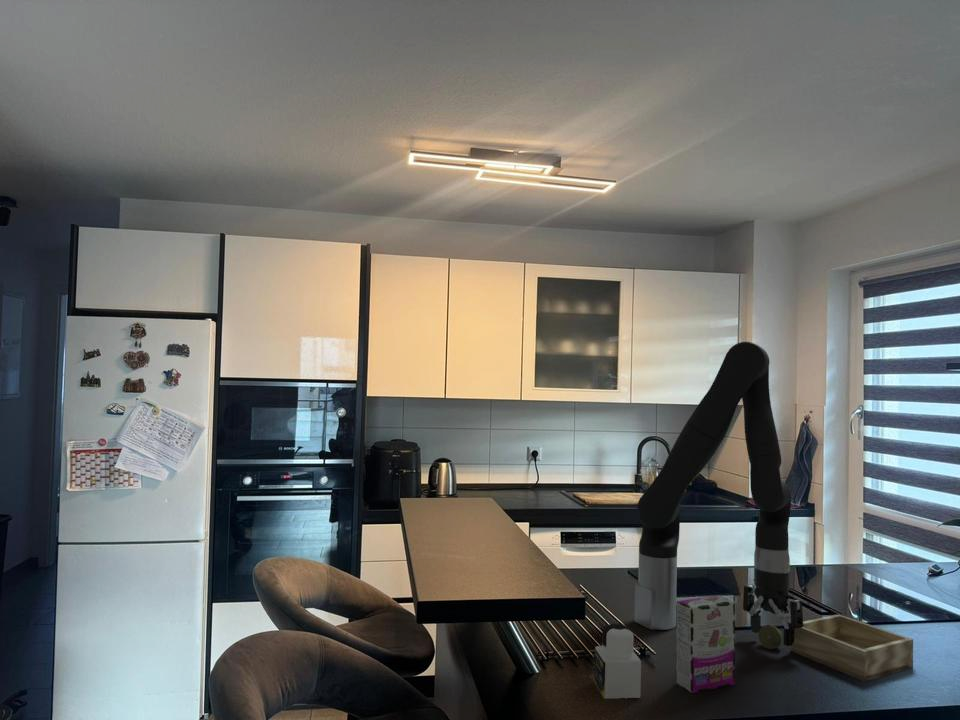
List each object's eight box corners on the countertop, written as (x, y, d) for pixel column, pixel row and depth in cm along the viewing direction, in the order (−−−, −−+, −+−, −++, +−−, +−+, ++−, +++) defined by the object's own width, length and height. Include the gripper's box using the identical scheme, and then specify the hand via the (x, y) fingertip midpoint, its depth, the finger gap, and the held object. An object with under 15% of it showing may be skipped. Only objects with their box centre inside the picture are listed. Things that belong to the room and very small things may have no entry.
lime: (783, 652, 148) (784, 629, 148) (761, 649, 149) (761, 627, 149) (779, 644, 153) (779, 622, 153) (756, 642, 154) (757, 620, 154)
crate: (864, 681, 134) (864, 651, 134) (790, 650, 149) (791, 624, 149) (913, 667, 142) (913, 639, 142) (838, 639, 157) (838, 614, 157)
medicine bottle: (593, 682, 130) (595, 620, 130) (629, 682, 130) (630, 620, 131) (603, 699, 123) (605, 634, 123) (640, 699, 123) (642, 634, 124)
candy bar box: (717, 675, 135) (718, 594, 136) (735, 685, 130) (736, 601, 131) (673, 683, 131) (675, 599, 131) (691, 694, 126) (692, 607, 127)
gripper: (735, 561, 156) (735, 630, 156) (788, 576, 144) (788, 652, 143) (757, 558, 160) (757, 626, 159) (810, 573, 147) (810, 646, 146)
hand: (771, 638), depth 151 cm, fingers open, 8 cm apart
